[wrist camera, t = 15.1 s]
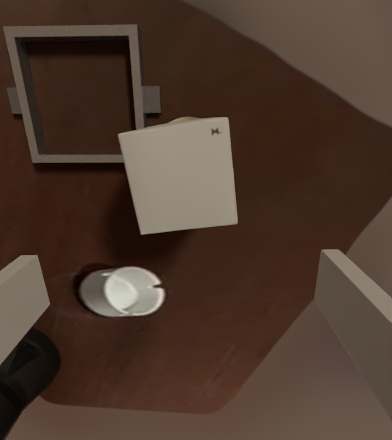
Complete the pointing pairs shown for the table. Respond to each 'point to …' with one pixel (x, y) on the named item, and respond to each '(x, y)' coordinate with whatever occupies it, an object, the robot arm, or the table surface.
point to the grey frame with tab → (25, 93)
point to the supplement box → (181, 175)
